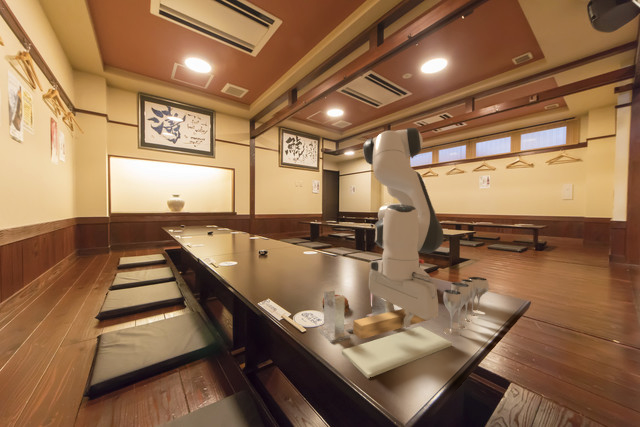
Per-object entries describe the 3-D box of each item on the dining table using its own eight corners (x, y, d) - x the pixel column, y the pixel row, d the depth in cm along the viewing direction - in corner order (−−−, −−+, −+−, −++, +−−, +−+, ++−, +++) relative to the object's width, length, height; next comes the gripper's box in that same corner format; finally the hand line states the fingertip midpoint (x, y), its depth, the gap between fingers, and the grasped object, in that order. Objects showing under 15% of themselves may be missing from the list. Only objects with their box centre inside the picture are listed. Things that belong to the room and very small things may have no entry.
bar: (427, 313, 69) (428, 302, 69) (437, 317, 66) (437, 306, 66) (353, 333, 57) (353, 320, 57) (361, 339, 54) (361, 326, 54)
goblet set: (458, 338, 68) (459, 291, 67) (437, 330, 72) (438, 286, 72) (490, 312, 85) (491, 275, 85) (472, 307, 90) (473, 272, 90)
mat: (420, 328, 73) (420, 326, 73) (451, 345, 64) (451, 342, 64) (341, 353, 60) (341, 350, 60) (367, 378, 51) (367, 374, 51)
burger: (336, 302, 93) (336, 290, 93) (354, 310, 86) (354, 297, 86) (316, 309, 87) (316, 296, 86) (333, 318, 79) (334, 304, 79)
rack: (380, 314, 82) (381, 280, 82) (397, 324, 75) (398, 287, 75) (317, 329, 71) (318, 290, 71) (331, 343, 64) (332, 300, 64)
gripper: (445, 277, 54) (444, 338, 54) (382, 259, 72) (381, 306, 72) (426, 280, 51) (425, 345, 51) (365, 261, 69) (364, 309, 69)
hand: (398, 322), depth 62 cm, fingers closed on bar, 3 cm apart
